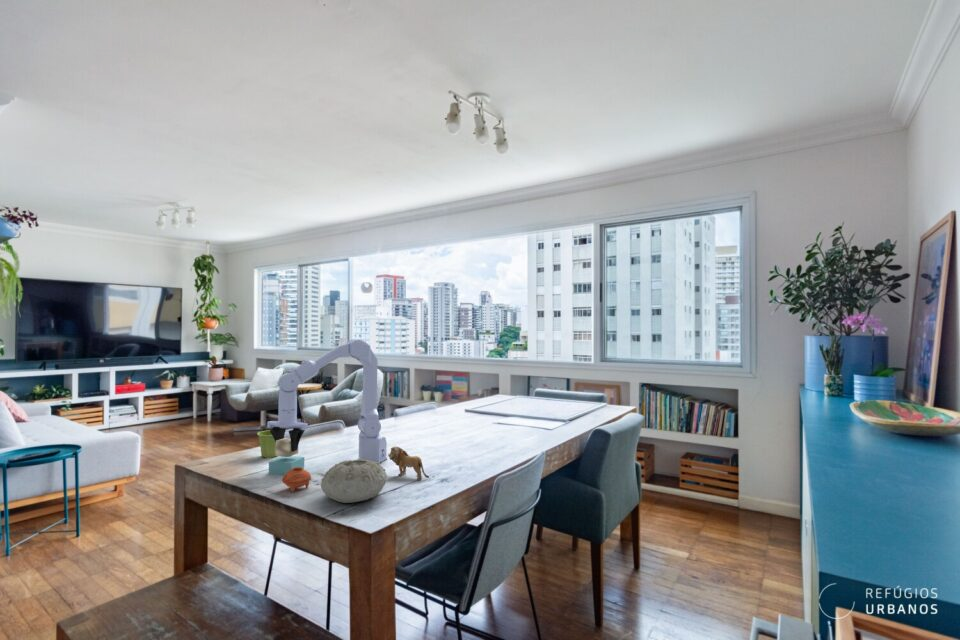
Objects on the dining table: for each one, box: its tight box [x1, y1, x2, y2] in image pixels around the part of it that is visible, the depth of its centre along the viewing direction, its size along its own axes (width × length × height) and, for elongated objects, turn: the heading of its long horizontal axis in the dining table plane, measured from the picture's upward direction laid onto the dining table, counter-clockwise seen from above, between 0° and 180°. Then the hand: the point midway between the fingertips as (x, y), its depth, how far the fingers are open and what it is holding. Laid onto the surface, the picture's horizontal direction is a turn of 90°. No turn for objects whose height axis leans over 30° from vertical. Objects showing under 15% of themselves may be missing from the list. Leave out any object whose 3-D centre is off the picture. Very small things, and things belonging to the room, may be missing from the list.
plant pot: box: [257, 429, 277, 459], centre depth 177 cm, size 9×9×9 cm
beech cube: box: [275, 437, 299, 457], centre depth 159 cm, size 5×5×5 cm
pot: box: [281, 467, 312, 493], centre depth 141 cm, size 8×8×7 cm
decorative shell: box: [320, 459, 388, 504], centre depth 134 cm, size 18×18×10 cm
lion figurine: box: [388, 446, 430, 481], centre depth 154 cm, size 15×5×9 cm, turn 67°
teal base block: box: [268, 455, 305, 475], centre depth 159 cm, size 8×8×4 cm
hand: (287, 450), depth 159 cm, fingers closed on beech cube, 5 cm apart
